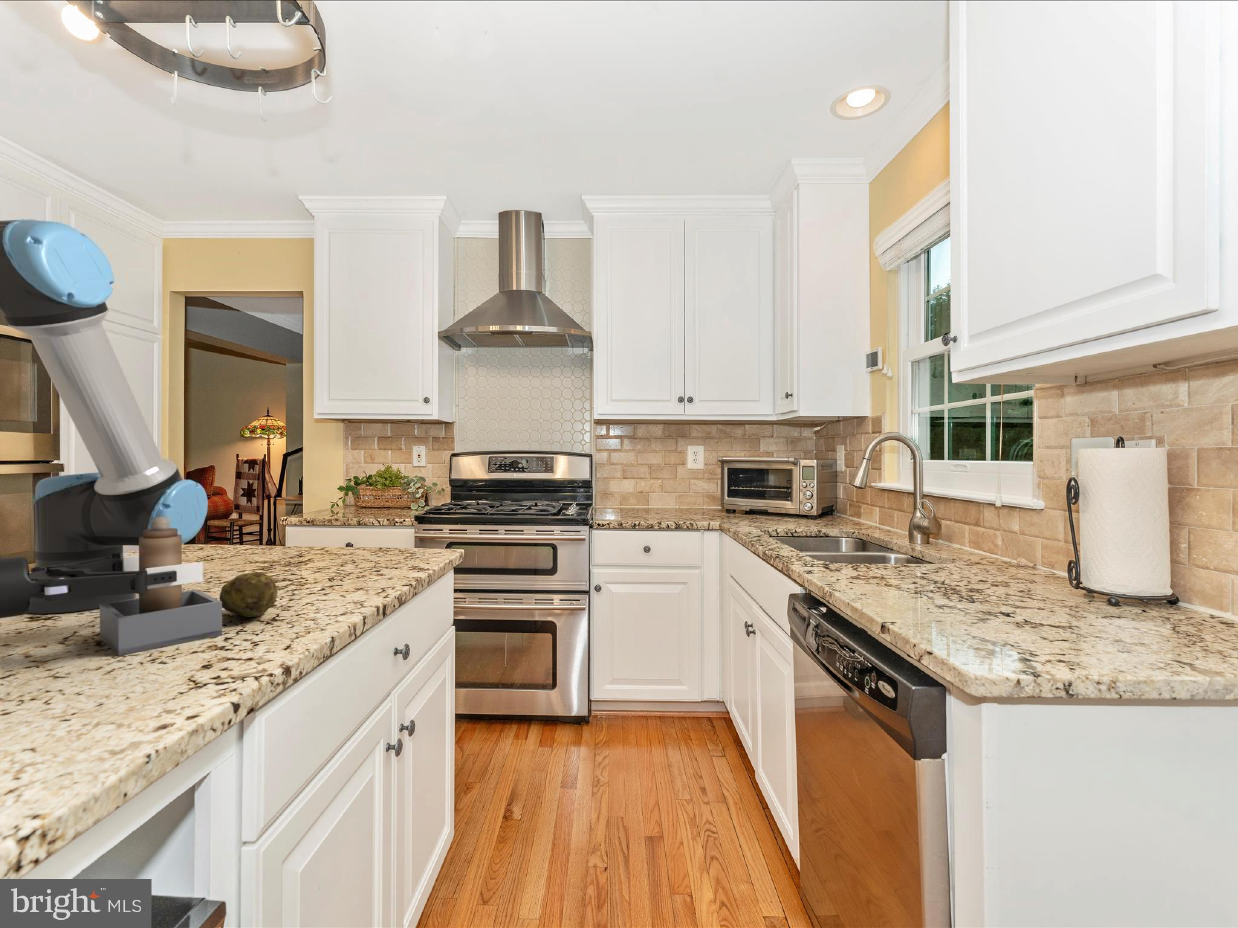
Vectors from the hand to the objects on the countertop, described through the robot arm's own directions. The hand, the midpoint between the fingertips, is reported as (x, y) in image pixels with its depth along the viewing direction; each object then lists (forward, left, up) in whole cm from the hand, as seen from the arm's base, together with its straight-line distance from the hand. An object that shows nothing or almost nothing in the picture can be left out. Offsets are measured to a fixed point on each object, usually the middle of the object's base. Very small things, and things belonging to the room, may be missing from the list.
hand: (188, 565), depth 91 cm
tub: (0, -3, -10) cm, 11 cm away
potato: (-1, +8, -10) cm, 13 cm away
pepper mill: (0, -4, -9) cm, 10 cm away
